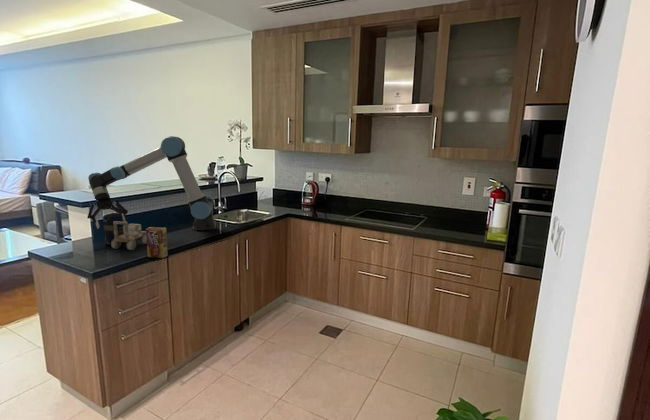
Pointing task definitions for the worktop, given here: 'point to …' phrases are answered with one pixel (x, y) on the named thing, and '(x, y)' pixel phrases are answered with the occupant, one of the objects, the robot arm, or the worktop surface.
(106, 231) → the canister
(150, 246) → the candy box
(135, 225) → the wooden toy truck
